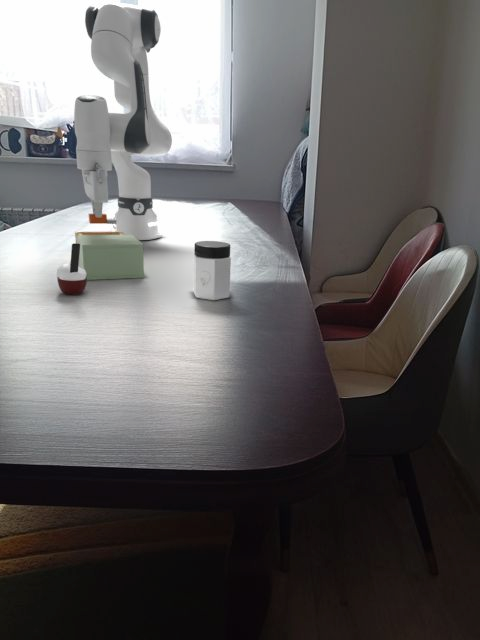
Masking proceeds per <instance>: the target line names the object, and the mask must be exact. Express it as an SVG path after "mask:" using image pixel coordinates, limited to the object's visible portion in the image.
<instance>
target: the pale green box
mask: <svg viewBox="0 0 480 640" xmlns="http://www.w3.org/2000/svg"><path fill="white" fill-rule="evenodd" d="M76 237H77V243H79V244H80V255H79V266H78V267H80V268H82V269H85V271H86V277H87V281H95V280H117V279H118V280H119V279H122V280H123V279H142V278H145V267H144V266H145V263H144V244H143V242H141V240H138V239H137V238H135V237H134V236H133V235H76Z"/></svg>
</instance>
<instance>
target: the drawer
mask: <svg viewBox="0 0 480 640" xmlns="http://www.w3.org/2000/svg"><path fill="white" fill-rule="evenodd" d="M76 235H124V232H123V231H111V230H106V231H105V230H104V231H103V230H101V231H99V230H97V231H95V230H94V231H91V230H90V231H89V230H87V231H82V230H81V231H74V237H75V244H77V237H76Z"/></svg>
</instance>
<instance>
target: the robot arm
mask: <svg viewBox="0 0 480 640" xmlns="http://www.w3.org/2000/svg"><path fill="white" fill-rule="evenodd" d="M84 25H85V29H86V33H87V35H88V37H89V39H90V40H91V43H90V56H91V59H92V62H93V64H94V66H95V67H96V69H97V70H98V71H99V72H100V73H101V74H103V75H104V76H105V77H107V78H108V79H110V80H112V81H113V89H114V98H115V100H116V102H117V104H119V105H120V106H121V107H122V108H125V109H126V110H128V112H126V113H119V112H118V113H117V112H109V107H108V102H107V100H106V98H104V97H103V96H99V95H80V96H78V97H76V98H75V100H74V101H75V102H74V109H73V110H74V113H73V123H74V125H73V126H74V134H75V137H76V146H75V154H76V166H77V167H76V168H77V169H78V170H81V175H82V181H83V182H82V183H83V189H84V192H85V196H87V197H88V198H89V199H90V200H91V201H90V203H91V208H92V214H95V217H97V218H101V217H102V214H103V207H104V206H103V205H104V204H103V203H108V202H109V186H108V176H109V175H108V171H109V172H110V171H113V167H114V169H115V172H116V177H117V185H118V197H117V207H118V208H117V211H116V212H115V214H114V215H113V216H112V217H111V219H116V220H117V224H113V226H112V227H113V228H111V230H110V231H123V232H124V235H133V236H134V237H135V238H137V239H138V240H139V241H148V240H149V241H150V240H155V239H158V238H163V234H162V233H160V232H159V227H158V226H159V225H161V224H162V221H158V215H157V213H156V212H155V211H154V210H153V208H154V207H153V205H154V204H153V203H154V201H153V197H152V179H151V178H152V177H151V175H150V173H149V172H148V171H147V169H145V168H143V167H141V166H139V165H138V164H136V163H134V162H133V160H132V157H133V156H134V157H135V156H137V157H159V156H165V155H167V154H168V153H169V152H170V150H171V148H172V144H173V138H172V134H171V131H170V129H169V128H168V127H167V126H166V124H164V123H163V122H162V121H161V120H160V118H159V117H158V116H157V114H156V113H155V110H154V108H153V106H152V102H151V95H150V82H149V81H150V80H149V79H150V78H149V62H148V55H147V54H148V53H150V52H151V50H152V49H153V48H155V47H156V46H157V44H159V41H160V36H161V31H162V30H161V29H162V28H161V22H160V19H159V16H158V13H157V12H156V11H155V10H154V9H153V8H151V7H148V6H145V5H143V6H139V5H134V4H129V3H117V2H106V3H103V4H102V3H93V4H91V5H89V6H88V7H87V9H86V11H85V17H84Z"/></svg>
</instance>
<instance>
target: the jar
mask: <svg viewBox="0 0 480 640" xmlns="http://www.w3.org/2000/svg"><path fill="white" fill-rule="evenodd" d="M193 252H194V254H193V294H194V297H195V298H196V299H202V300H209V301H216V300H217V301H218V300H225V299H228V298H230V292H231V291H230V290H231V267H232V266H231V264H232V263H231V262H232V261H231V260H232V258H231V244H230V243H228V242H225V241H217V240H200V241H196V242H194V250H193Z"/></svg>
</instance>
